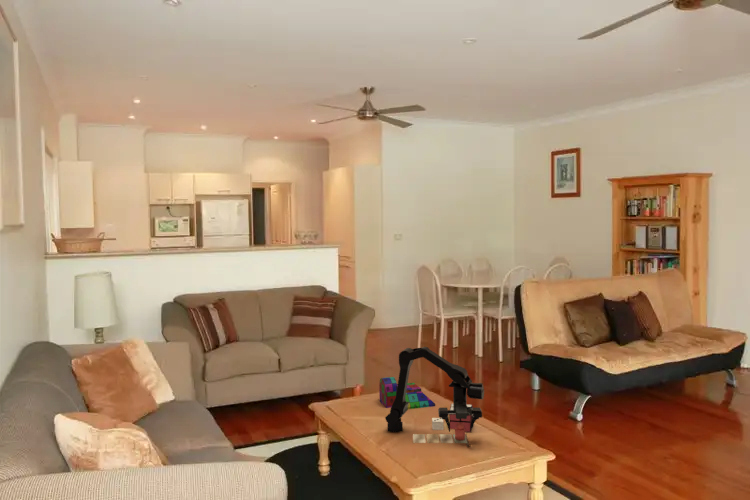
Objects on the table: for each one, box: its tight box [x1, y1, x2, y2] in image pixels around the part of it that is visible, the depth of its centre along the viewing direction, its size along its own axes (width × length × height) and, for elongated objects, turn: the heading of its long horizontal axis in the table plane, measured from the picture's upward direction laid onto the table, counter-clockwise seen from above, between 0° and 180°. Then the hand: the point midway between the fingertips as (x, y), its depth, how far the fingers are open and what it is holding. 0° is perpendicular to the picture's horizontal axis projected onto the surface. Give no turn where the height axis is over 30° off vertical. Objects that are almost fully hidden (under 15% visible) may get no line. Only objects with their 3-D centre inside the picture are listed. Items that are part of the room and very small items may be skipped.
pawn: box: [454, 422, 466, 440], centre depth 277 cm, size 4×4×7 cm
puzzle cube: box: [448, 403, 473, 433], centre depth 293 cm, size 10×10×10 cm
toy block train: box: [378, 376, 436, 410], centre depth 329 cm, size 25×17×14 cm
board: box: [412, 433, 470, 448], centre depth 278 cm, size 25×12×1 cm, turn 88°
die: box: [431, 417, 445, 431], centre depth 291 cm, size 5×5×5 cm
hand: (460, 431), depth 277 cm, fingers open, 9 cm apart
